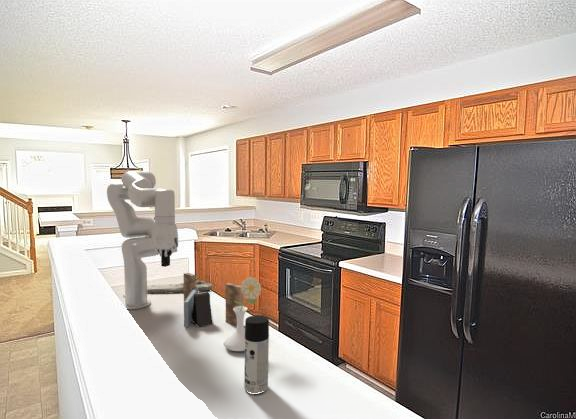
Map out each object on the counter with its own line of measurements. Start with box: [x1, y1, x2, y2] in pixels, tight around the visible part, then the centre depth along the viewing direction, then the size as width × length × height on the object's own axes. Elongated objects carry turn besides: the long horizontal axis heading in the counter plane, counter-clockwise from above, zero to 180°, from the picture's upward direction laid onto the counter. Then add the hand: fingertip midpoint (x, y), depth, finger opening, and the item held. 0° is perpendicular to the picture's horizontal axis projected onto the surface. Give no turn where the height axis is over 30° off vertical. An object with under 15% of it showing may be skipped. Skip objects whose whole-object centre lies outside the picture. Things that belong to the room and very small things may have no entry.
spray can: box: [243, 315, 270, 393], centre depth 96 cm, size 7×7×20 cm
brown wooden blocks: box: [183, 272, 244, 326], centre depth 148 cm, size 35×2×16 cm, turn 55°
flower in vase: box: [223, 276, 262, 352], centre depth 120 cm, size 13×11×25 cm
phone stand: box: [191, 292, 213, 328], centre depth 142 cm, size 9×6×12 cm, turn 31°
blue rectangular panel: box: [183, 287, 199, 328], centre depth 145 cm, size 20×2×10 cm, turn 3°
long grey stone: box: [147, 279, 213, 294], centre depth 183 cm, size 35×5×10 cm
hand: (165, 265), depth 138 cm, fingers closed
